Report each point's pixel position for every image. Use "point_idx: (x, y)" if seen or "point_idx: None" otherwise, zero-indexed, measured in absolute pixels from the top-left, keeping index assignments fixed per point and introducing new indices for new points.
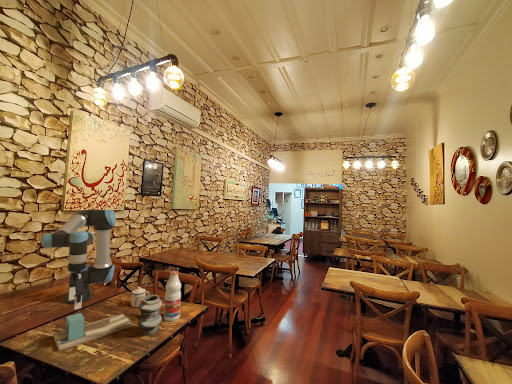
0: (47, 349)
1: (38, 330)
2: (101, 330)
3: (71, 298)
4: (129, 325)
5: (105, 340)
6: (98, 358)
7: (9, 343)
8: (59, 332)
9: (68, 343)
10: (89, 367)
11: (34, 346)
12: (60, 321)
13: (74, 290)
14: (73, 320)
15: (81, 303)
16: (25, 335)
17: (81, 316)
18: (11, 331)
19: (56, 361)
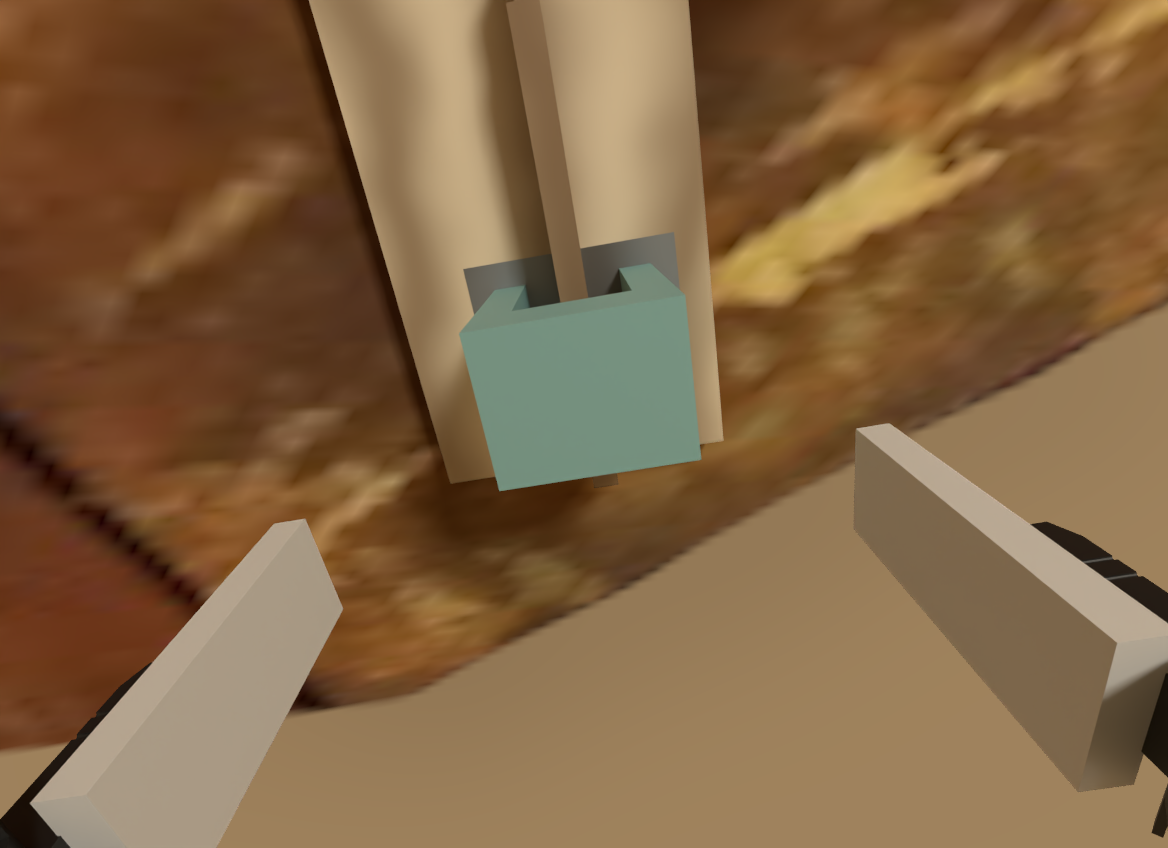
0: (629, 493)
1: None
2: (636, 69)
3: (313, 599)
4: None
5: (798, 48)
6: (1078, 148)
7: (391, 683)
8: (442, 449)
9: (712, 380)
10: (1144, 226)
11: (526, 564)
12: (120, 437)
13: (190, 710)
14: (680, 422)
15: (946, 468)
16: None
17: (603, 330)
18: None
19: (855, 433)
